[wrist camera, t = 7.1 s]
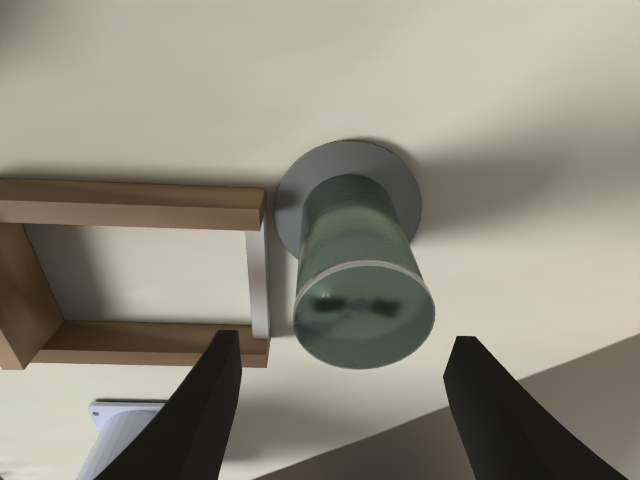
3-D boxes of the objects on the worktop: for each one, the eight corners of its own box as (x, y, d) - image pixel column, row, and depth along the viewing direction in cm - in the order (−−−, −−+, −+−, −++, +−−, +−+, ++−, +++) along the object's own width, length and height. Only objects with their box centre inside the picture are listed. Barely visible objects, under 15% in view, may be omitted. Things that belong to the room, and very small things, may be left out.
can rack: (270, 338, 26) (263, 388, 22) (52, 332, 25) (11, 382, 22) (265, 188, 20) (254, 224, 16) (-22, 177, 19) (-95, 212, 16)
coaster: (405, 271, 23) (407, 276, 22) (276, 266, 22) (275, 272, 22) (432, 143, 18) (435, 147, 18) (273, 136, 18) (272, 140, 18)
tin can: (383, 259, 21) (415, 373, 15) (297, 251, 21) (288, 364, 14) (404, 178, 19) (453, 271, 12) (305, 168, 18) (298, 257, 12)
